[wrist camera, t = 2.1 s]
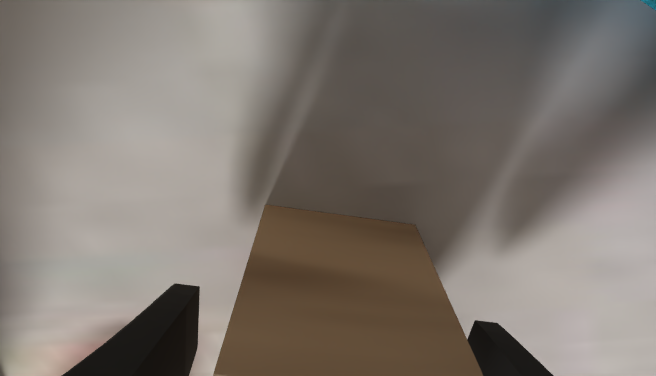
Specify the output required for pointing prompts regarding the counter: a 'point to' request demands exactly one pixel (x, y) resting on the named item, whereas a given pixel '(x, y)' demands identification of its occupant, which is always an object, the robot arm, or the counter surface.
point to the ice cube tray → (650, 3)
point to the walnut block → (341, 303)
